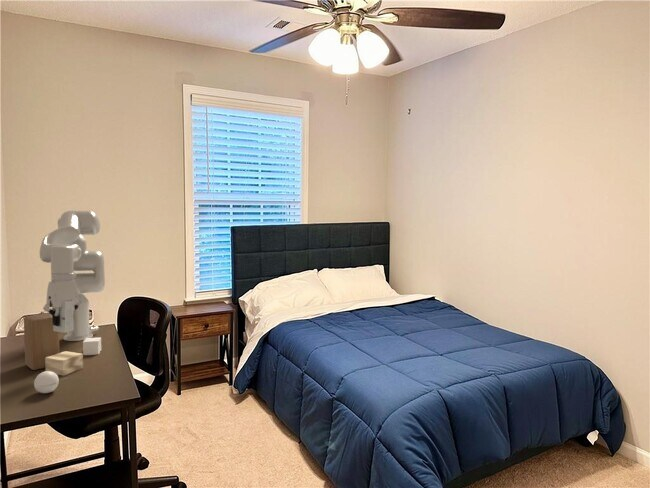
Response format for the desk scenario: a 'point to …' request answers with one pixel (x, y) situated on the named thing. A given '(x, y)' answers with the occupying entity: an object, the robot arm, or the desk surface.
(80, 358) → the beech block
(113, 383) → the desk surface
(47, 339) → the block
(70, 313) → the skincare box
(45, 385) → the white ellipsoid
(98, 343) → the cream white cube
